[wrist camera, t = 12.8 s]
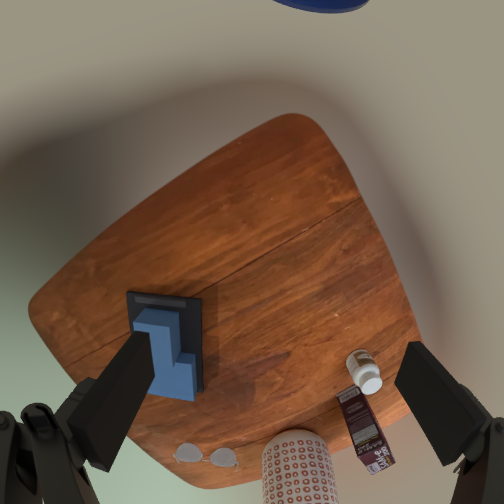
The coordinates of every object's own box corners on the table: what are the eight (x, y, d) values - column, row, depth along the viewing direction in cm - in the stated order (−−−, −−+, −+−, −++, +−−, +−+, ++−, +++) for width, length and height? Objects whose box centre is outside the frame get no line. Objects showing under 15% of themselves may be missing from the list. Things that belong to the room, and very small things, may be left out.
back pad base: (128, 290, 40) (117, 299, 36) (201, 298, 40) (196, 308, 36) (140, 380, 44) (133, 392, 40) (203, 390, 44) (200, 404, 40)
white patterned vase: (318, 413, 45) (346, 540, 18) (329, 447, 48) (352, 551, 20) (252, 430, 46) (249, 554, 19) (272, 461, 49) (275, 564, 22)
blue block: (145, 307, 40) (132, 321, 35) (178, 311, 40) (169, 327, 35) (149, 345, 41) (138, 362, 37) (180, 350, 41) (173, 368, 37)
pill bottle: (373, 350, 42) (390, 376, 34) (362, 370, 43) (376, 397, 35) (352, 346, 42) (367, 373, 34) (341, 367, 43) (353, 396, 35)
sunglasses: (239, 448, 48) (238, 467, 43) (238, 462, 51) (237, 479, 47) (176, 440, 48) (171, 458, 43) (180, 455, 51) (177, 471, 47)
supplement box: (371, 405, 45) (397, 463, 29) (349, 416, 46) (370, 476, 30) (358, 381, 43) (387, 443, 28) (334, 393, 44) (356, 459, 28)
